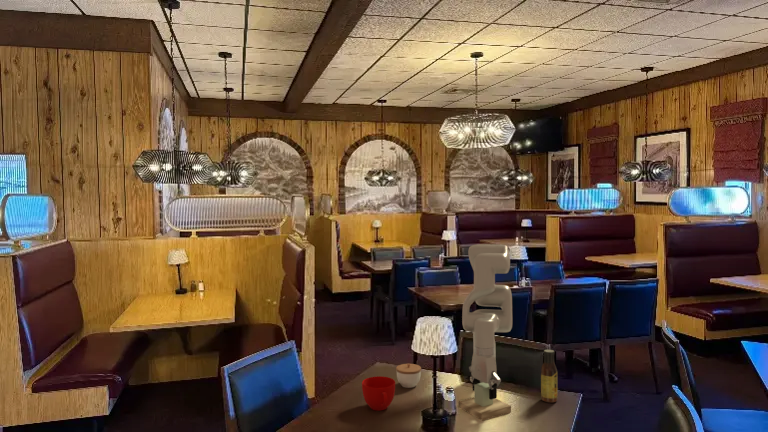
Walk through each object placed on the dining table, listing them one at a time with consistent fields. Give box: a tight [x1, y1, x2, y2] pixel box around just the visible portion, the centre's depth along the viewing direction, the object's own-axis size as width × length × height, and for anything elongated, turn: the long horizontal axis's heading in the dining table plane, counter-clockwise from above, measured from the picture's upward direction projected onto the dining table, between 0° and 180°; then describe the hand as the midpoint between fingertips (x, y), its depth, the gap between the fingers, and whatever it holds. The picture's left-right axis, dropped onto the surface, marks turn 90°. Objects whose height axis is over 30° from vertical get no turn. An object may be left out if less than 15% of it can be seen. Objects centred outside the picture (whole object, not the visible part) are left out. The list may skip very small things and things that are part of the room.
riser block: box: [458, 396, 512, 421], centre depth 210 cm, size 14×14×3 cm
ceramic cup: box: [361, 376, 396, 411], centre depth 212 cm, size 13×17×10 cm
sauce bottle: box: [540, 349, 558, 403], centre depth 218 cm, size 6×6×20 cm
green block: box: [473, 382, 493, 407], centre depth 210 cm, size 5×5×7 cm
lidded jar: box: [395, 363, 422, 389], centre depth 237 cm, size 11×11×9 cm
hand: (484, 394), depth 210 cm, fingers open, 9 cm apart
